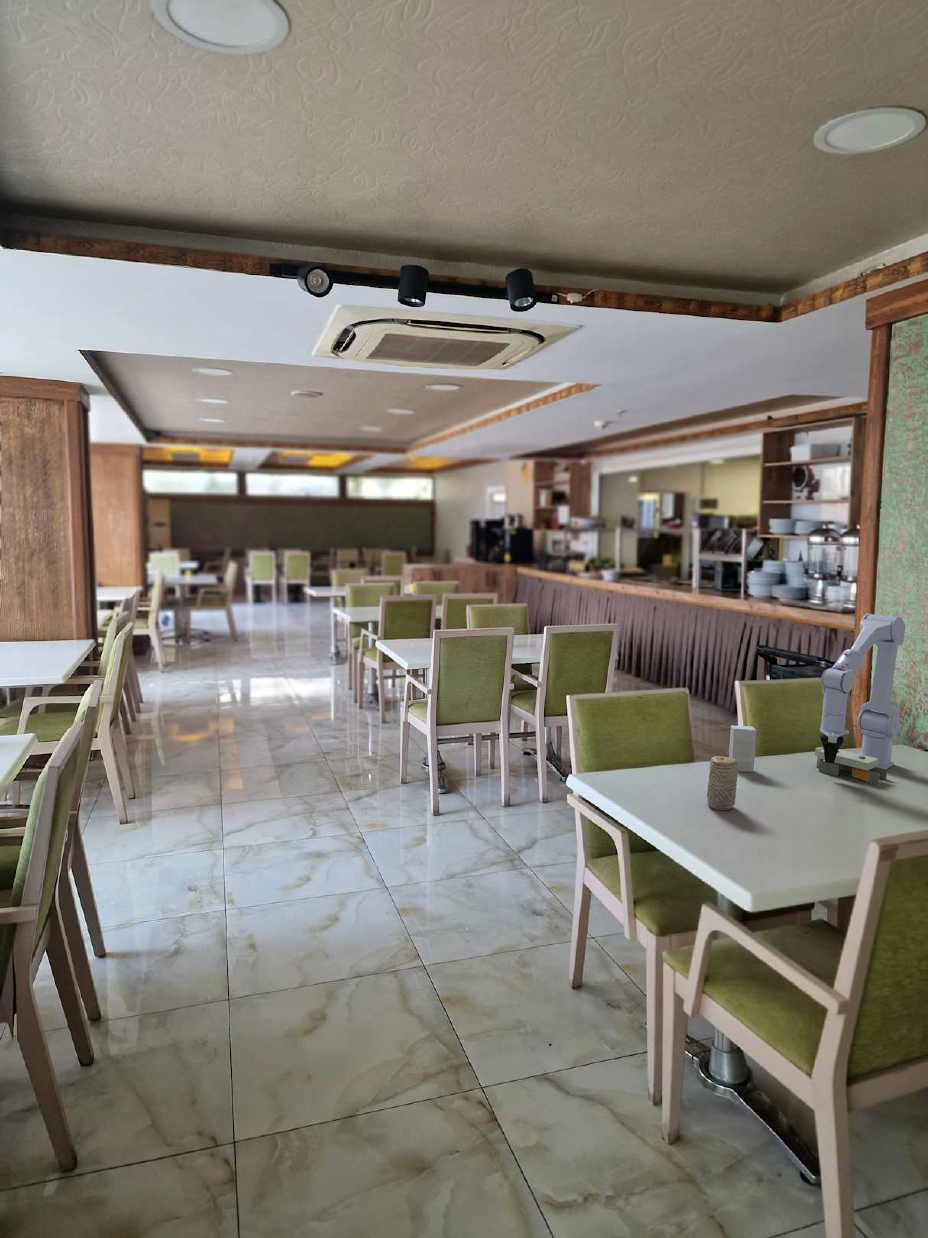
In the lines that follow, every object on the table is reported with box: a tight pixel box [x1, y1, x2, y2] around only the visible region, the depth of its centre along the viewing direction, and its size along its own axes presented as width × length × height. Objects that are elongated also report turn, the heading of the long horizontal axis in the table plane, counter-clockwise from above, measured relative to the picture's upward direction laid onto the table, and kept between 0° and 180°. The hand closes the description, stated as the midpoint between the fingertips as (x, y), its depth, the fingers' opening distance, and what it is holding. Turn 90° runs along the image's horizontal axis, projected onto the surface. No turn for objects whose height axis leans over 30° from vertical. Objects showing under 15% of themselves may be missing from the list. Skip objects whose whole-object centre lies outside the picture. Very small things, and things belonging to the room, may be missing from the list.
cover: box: [814, 746, 879, 770], centre depth 213 cm, size 7×15×6 cm, turn 41°
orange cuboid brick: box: [851, 768, 871, 782], centre depth 209 cm, size 2×5×2 cm, turn 30°
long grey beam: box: [818, 760, 888, 786], centre depth 212 cm, size 8×15×3 cm, turn 46°
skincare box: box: [728, 725, 757, 773], centre depth 213 cm, size 6×4×12 cm
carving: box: [706, 755, 739, 811], centre depth 182 cm, size 6×8×12 cm
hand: (829, 762), depth 208 cm, fingers closed
